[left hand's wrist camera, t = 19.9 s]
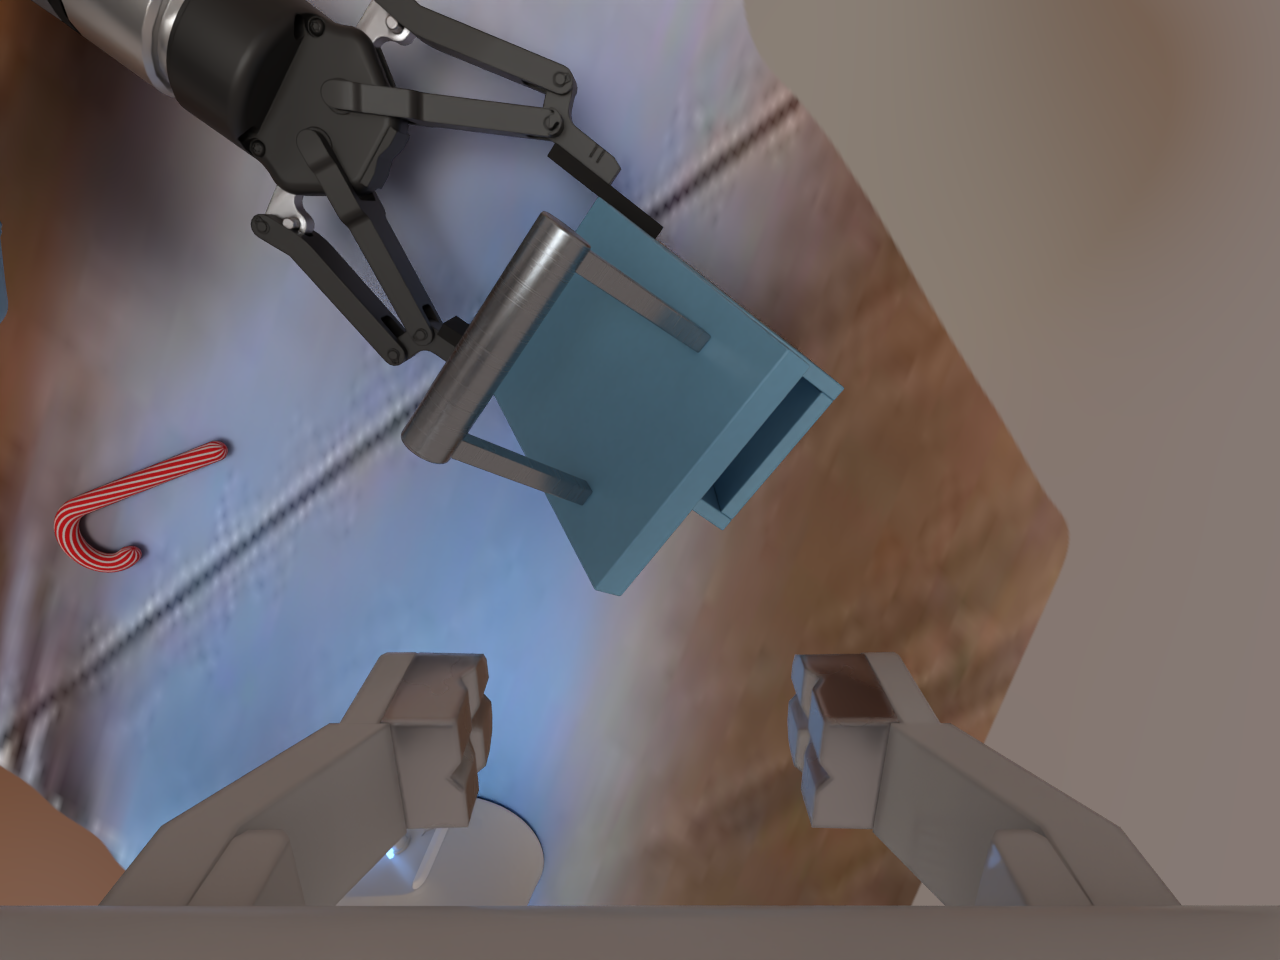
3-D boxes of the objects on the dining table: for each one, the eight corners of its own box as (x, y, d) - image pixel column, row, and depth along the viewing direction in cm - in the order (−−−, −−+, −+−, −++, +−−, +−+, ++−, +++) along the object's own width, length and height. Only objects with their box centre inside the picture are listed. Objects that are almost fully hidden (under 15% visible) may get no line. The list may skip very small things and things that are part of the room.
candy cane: (273, 508, 49) (262, 516, 48) (99, 577, 51) (84, 587, 49) (224, 433, 47) (212, 439, 45) (45, 508, 49) (28, 517, 47)
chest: (798, 350, 45) (845, 388, 35) (704, 465, 48) (722, 531, 38) (615, 207, 42) (608, 203, 32) (527, 339, 45) (494, 375, 34)
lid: (812, 366, 21) (618, 217, 15) (620, 597, 24) (401, 540, 18) (618, 211, 31) (464, 91, 26) (502, 382, 34) (342, 307, 29)
